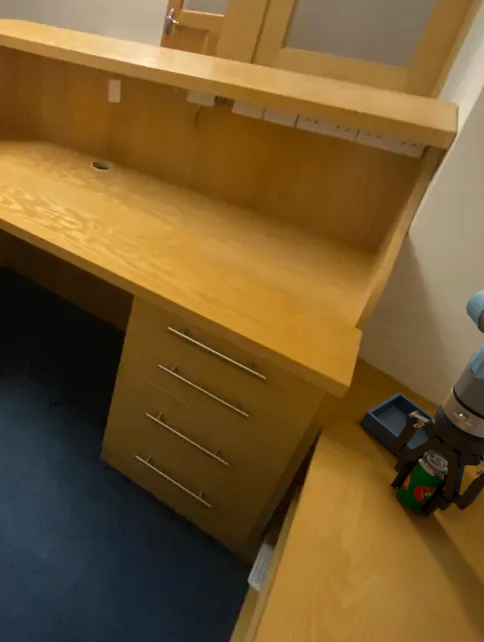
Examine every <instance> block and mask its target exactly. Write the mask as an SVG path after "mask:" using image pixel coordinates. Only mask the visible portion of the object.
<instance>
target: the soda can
mask: <svg viewBox="0 0 484 642" xmlns="http://www.w3.org/2000/svg"><path fill="white" fill-rule="evenodd" d="M447 463H448V461H447V460H446V459H445V458H444V457H443V456H442V455H440V454H439V453H436V452H432V451H428V452H426V453H424V454H422V455H420V456H418V458H417V459H416V461H415V462H414V463H413V465H412V466H411V468H410V469H409V471H408V472H407V474H406V475H405V477H404V478H403V480H402V481H401V483H400V484H399V486H398V487H397V488H396V491H395V492H396V495H397V498H398V500H399V501H400V503H401V504H402V505H403V506H404V507H406V508H407V509H409V510H410V511H413V512H415V513H423V512H424V511H425V510H426V508H427V507H428V506H429V504H430V503H431V502H432V500H433V499H434V498H435V496H436V495H437V494H438V493H439V492H441V491H442V490H443V489H444V488H445V483H446V477H447V472H448V468H447Z"/></svg>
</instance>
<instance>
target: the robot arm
mask: <svg viewBox="0 0 484 642" xmlns="http://www.w3.org/2000/svg"><path fill="white" fill-rule="evenodd" d="M465 310H466V314H467V316H468V317H469V318H470V319H471V320H472V321H473V323H474V324H475V325H476V327H477V329H478V331H480V332H481V333H482V334H484V289H482V290H479V291H478V292H476V293H475V294H473V295H472V296H471V297H470V298H469V299H468V301H467V303H466V307H465ZM432 417H433V418H430V419H429V420H428V419H426V418H424V417H422V414H421V413H420V412H419V411H417V410H415V411H414V412H412V413H411V414H409V415H408V416H406V426H405V427H404V429H403V430H402V432H401V433H400V435H399V436H398V438H397V439H396V441H395V442H394V444H393V445H392V447H391V450H392V451H391V450H390V451H391V452H393V453H394V454H395V453H397V455H398V456H399V457H398V456H397V455H396V456H397V457H398V460H397V462H396V463H395V465H394V467H393V470H394V471H395V472H397V475H396V477H395V478H394V479H393V481H392V483H391V484H390V487H392V488H393V490H395V489H397V487H398V486H399V484H400V483H401V481H402V480H403V478H404V477H405V475H406V474H407V472H408V471H409V469H410V468H411V466H412V465H413V463H414V462H415V461H414V460H413V459H415V458H417V457H418V456H420V455H422V454H424V453H426V452H428V451H430V450H432V449H433V450H434V451H435V452H437V453H438V454H440V455H442V456H443V457H444V458H445V459H446V460H447V461H448V463H447V468H448V472H447V477H446V483H445V487H444V489H443V490H442V491H441V492H439V493H438V494H437V495H436V496H435V498H434V499H433V500H432V502H431V503H430V504H429V506H428V507H427V508H426V510H425V511H424V512H422V514H421V515H422V516H423V517H424V518H425V519H427V518H428V517H430V516H431V515H433V513H435V512H436V511H437V510H440V511H441V512H446V511H447V509H449V508H450V507H451V506H452V505H453V504H454V505H456V507H457V508H458V510H461V511H464V510H466V509H467V508H468V507H470V505H472V504H473V503H474V501H475V500H476V499H477V498H478V496H479V495H480V493H481V492H482V491H483V490H484V342H483V343H482V344H481V345H480V347H479V348H478V349H477V350H476V352H474V353H473V354H472V355H471V356H470V358H469V360H468V363H467V364H466V366H465V367H464V369H463V370H462V373H460V376H459V378H458V379H457V380H456V382H455V384H454V385H453V386H452V387H451V389H450V390H449V392H448V393H447V395H446V396H445V398H444V399H443V402H442V404H441V405H440V406H439V407H438V409H437V410H436V412H435V413H434V415H433V416H432ZM422 426H425V430H426V434H427V437H428V441H426V442H424V443H422V444H421V445H419V446H417V447H415V448H414V449H412V450H410V451H407V450H406V448H405V447H406V446H407V444H408V443H409V442H410V440H411V439H412V437H413V436H414V434H415V433H416V431H417V430H418V429H419V428H420V427H422ZM466 466H473V467H476V470H475V478H474V479H473V480H472V481H471V482H470V484H469V485H468V487H466V489H465V490H464V492H463V493H462V494H461V493H460V492H461V488H462V482H463V478H464V477H463V476H464V472H465V467H466Z"/></svg>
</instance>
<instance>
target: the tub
mask: <svg viewBox="0 0 484 642" xmlns="http://www.w3.org/2000/svg"><path fill="white" fill-rule="evenodd" d="M415 410H417V411H419V412H420V413H421V414H422V417H424V418H426V419H428V420H429V419H430V418H433V416H432V415H431V414H430V413H428V412H427V411H425V410H424V409H423V408H421V407H420V406H419V405H418V404H416V402H414V401H412V400H411V399H409V398H408V397H407V396H406V395H405V394H404V393H402V392H401V391H399V392H397V393H395V394H393V395H392V396H389V398H387V399H386V400H384V401H382V402H380V403H379V404H377V405H375V406H374V407H372V408H370V409H369V410H367V411H366V412H365V413H364V415H363V418H362V420H361V421H360V423H359V424H360V425H361V426H362V428H364V429H365V430H367V431H368V432H369V433H370V434H371V435H372V436H374V437H375V438H376V439H377V440H378V441H379V442H381V443H382V445H384V446H385V447H387V448H388V450H390V451H391V452H392V450H391V447H392V445H393V444H394V442H395V441H396V439H397V438H398V436H399V435H400V433H401V432H402V430H403V429H404V427H405V426H406V416H408V415H409V414H411V413H412V412H414V411H415ZM426 441H428V437H427V434H426V430H425V426H422V427H420V428H419V429H418V430H417V431H416V433H415V434H414V436H413V437H412V439H411V440H410V442H409V443H408V444H407V446H406V447H405V448H406V450H407V451H410V450H412V449H414V448H415V447H417V446H419V445H421V444H422V443H424V442H426ZM430 451H432V452H435V451H434V450H433V449H432V450H430ZM436 453H437V452H436ZM394 455H396V456H397V457H398V458H399V456H398V455H397V453H394ZM417 458H418V457H417ZM417 458H415V459H413V460H414V461H416V459H417Z"/></svg>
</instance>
